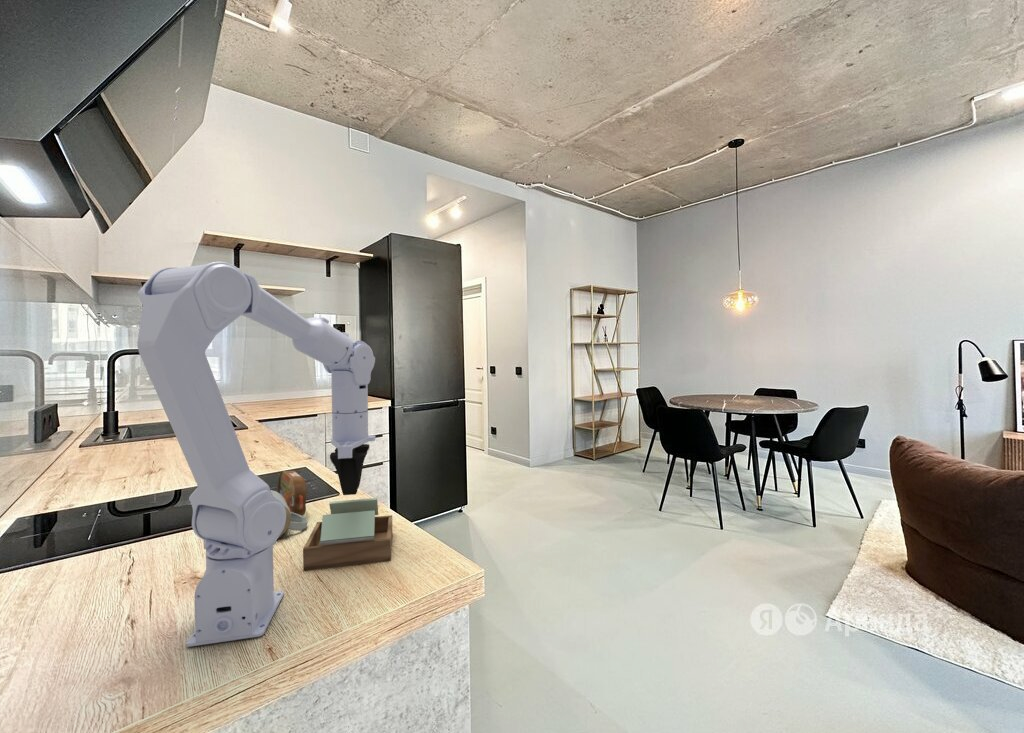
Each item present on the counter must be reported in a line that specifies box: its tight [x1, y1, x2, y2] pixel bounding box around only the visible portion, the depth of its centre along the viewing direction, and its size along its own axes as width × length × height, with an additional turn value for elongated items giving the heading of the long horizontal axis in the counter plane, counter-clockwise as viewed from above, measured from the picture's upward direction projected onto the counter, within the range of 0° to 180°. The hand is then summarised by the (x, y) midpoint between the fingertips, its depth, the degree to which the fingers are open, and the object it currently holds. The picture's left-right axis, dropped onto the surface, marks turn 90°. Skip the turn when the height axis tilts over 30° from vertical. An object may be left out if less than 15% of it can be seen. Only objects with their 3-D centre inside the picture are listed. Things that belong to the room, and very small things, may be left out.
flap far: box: [329, 497, 379, 516], centre depth 77 cm, size 8×4×1 cm
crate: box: [302, 515, 393, 572], centre depth 73 cm, size 11×13×3 cm
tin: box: [277, 470, 308, 517], centre depth 91 cm, size 15×3×8 cm, turn 39°
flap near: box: [320, 510, 376, 545], centre depth 69 cm, size 8×5×1 cm
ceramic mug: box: [270, 489, 308, 539], centre depth 80 cm, size 11×8×8 cm
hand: (351, 491), depth 73 cm, fingers open, 3 cm apart
